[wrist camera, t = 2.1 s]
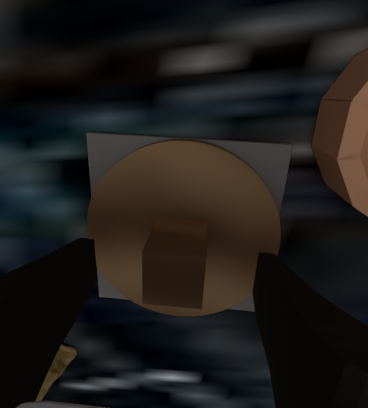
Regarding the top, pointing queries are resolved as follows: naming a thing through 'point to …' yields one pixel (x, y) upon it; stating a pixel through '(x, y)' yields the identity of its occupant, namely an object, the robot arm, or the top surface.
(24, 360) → the robot arm
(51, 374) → the rock
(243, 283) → the lid
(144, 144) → the mat
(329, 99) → the bowl
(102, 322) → the top surface
